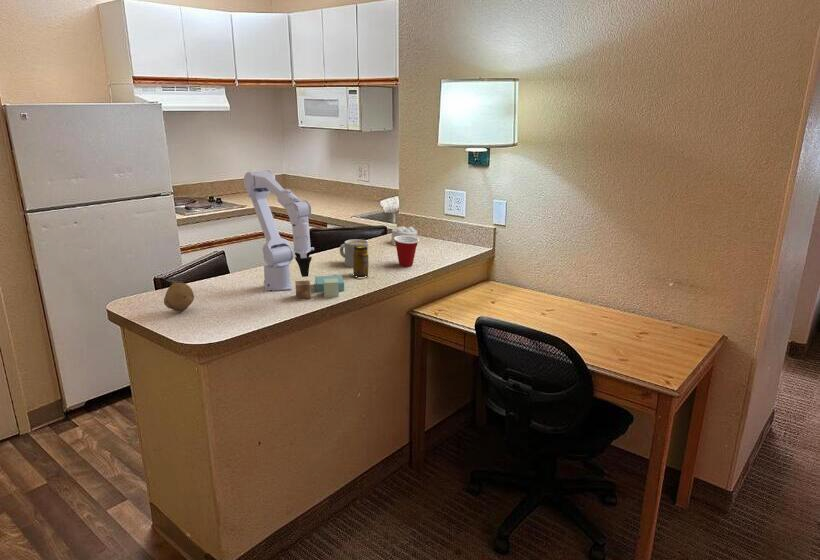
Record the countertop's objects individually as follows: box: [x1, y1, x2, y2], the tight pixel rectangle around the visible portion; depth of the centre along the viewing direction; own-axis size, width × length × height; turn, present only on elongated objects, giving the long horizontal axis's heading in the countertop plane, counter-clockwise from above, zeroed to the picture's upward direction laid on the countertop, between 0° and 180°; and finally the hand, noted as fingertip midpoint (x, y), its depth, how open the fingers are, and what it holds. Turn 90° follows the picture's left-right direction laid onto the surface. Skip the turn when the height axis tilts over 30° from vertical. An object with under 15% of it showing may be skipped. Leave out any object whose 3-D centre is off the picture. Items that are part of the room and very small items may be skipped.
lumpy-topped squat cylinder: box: [391, 225, 418, 246], centre depth 282 cm, size 10×13×9 cm
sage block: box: [323, 278, 340, 298], centre depth 208 cm, size 5×5×6 cm
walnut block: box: [294, 280, 312, 300], centre depth 205 cm, size 5×5×6 cm
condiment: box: [349, 245, 375, 280], centre depth 231 cm, size 7×8×12 cm
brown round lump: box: [163, 282, 195, 312], centre depth 189 cm, size 9×9×10 cm
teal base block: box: [314, 274, 345, 293], centre depth 217 cm, size 10×10×4 cm
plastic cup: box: [394, 236, 420, 268], centre depth 246 cm, size 11×11×12 cm
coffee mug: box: [339, 238, 369, 268], centre depth 248 cm, size 13×10×10 cm
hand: (304, 274), depth 204 cm, fingers open, 7 cm apart
